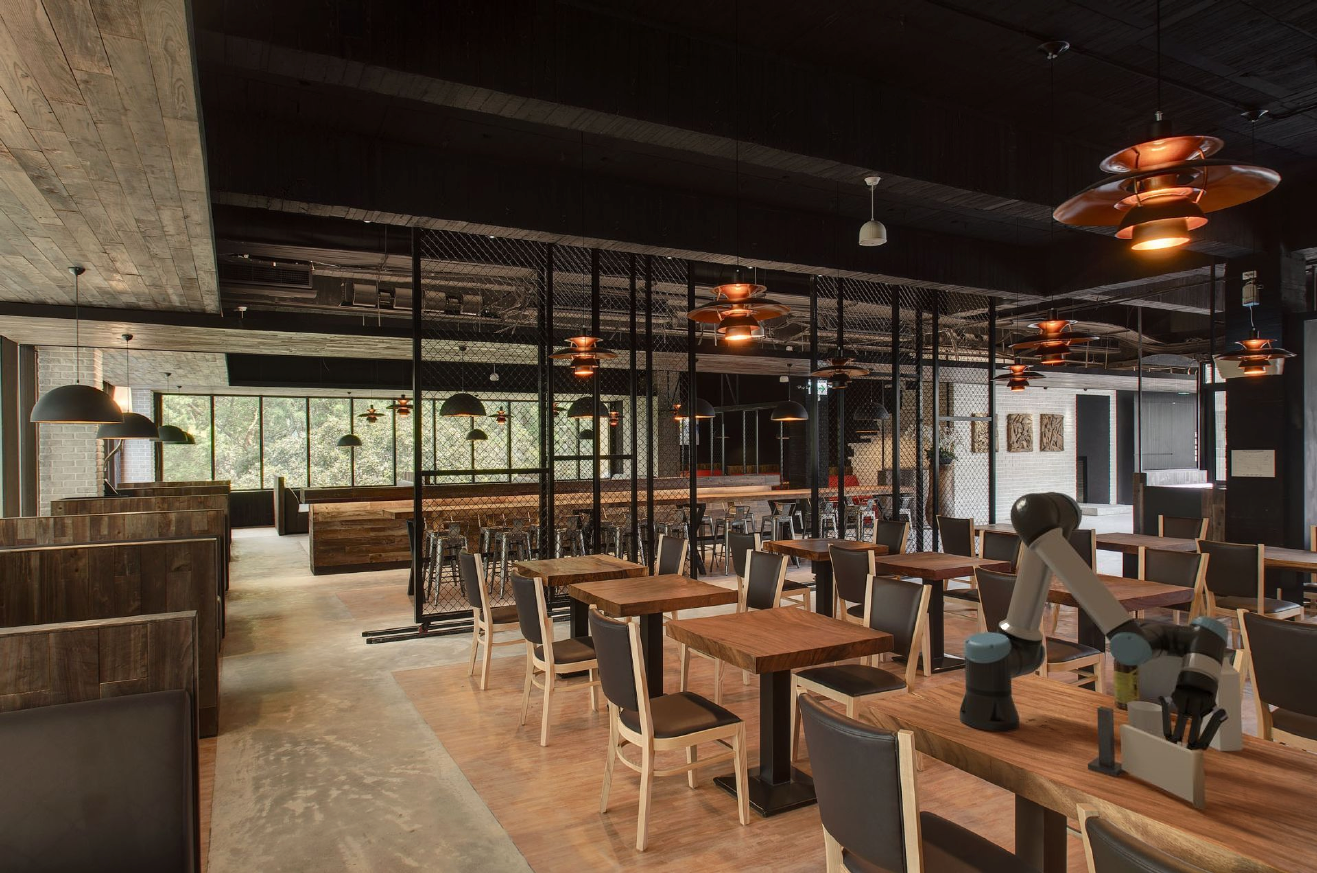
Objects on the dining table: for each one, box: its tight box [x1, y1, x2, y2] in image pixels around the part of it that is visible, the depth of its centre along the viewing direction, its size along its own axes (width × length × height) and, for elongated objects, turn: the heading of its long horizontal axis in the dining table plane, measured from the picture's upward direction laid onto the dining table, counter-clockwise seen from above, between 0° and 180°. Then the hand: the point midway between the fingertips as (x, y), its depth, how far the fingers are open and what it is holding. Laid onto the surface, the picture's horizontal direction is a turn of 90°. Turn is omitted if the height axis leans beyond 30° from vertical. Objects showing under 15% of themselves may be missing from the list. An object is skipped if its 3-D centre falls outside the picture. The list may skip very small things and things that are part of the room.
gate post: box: [1087, 705, 1126, 778], centre depth 172 cm, size 6×6×14 cm
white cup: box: [1127, 700, 1165, 740], centre depth 186 cm, size 8×8×10 cm
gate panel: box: [1120, 724, 1206, 810], centre depth 160 cm, size 19×2×11 cm, turn 14°
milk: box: [1200, 656, 1243, 752], centre depth 186 cm, size 6×6×22 cm
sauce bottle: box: [1113, 658, 1141, 711], centre depth 215 cm, size 7×6×20 cm
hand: (1177, 773), depth 158 cm, fingers closed
